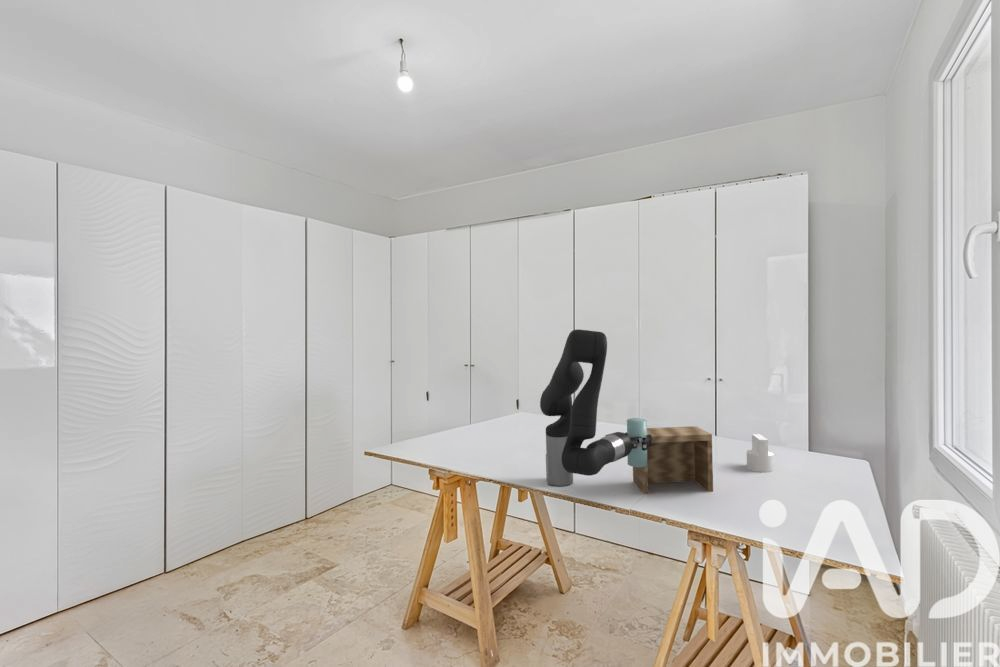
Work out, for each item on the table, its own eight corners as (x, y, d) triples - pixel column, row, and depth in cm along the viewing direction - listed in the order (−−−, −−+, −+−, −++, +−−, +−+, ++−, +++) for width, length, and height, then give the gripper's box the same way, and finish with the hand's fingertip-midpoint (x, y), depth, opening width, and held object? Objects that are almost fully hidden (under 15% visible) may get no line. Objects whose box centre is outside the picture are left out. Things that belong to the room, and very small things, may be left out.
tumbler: (630, 467, 150) (629, 422, 150) (625, 461, 156) (624, 418, 156) (649, 466, 150) (649, 422, 150) (643, 460, 156) (643, 418, 156)
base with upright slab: (777, 472, 176) (777, 440, 175) (751, 472, 178) (750, 439, 177) (769, 465, 185) (768, 434, 184) (743, 464, 186) (743, 433, 186)
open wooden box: (643, 494, 159) (642, 437, 159) (633, 482, 171) (631, 428, 171) (713, 491, 160) (711, 434, 159) (697, 479, 172) (696, 426, 171)
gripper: (635, 438, 137) (662, 427, 149) (591, 431, 147) (620, 421, 159) (635, 464, 138) (662, 451, 150) (592, 455, 148) (620, 443, 160)
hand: (640, 435), depth 155 cm, fingers closed on tumbler, 6 cm apart
